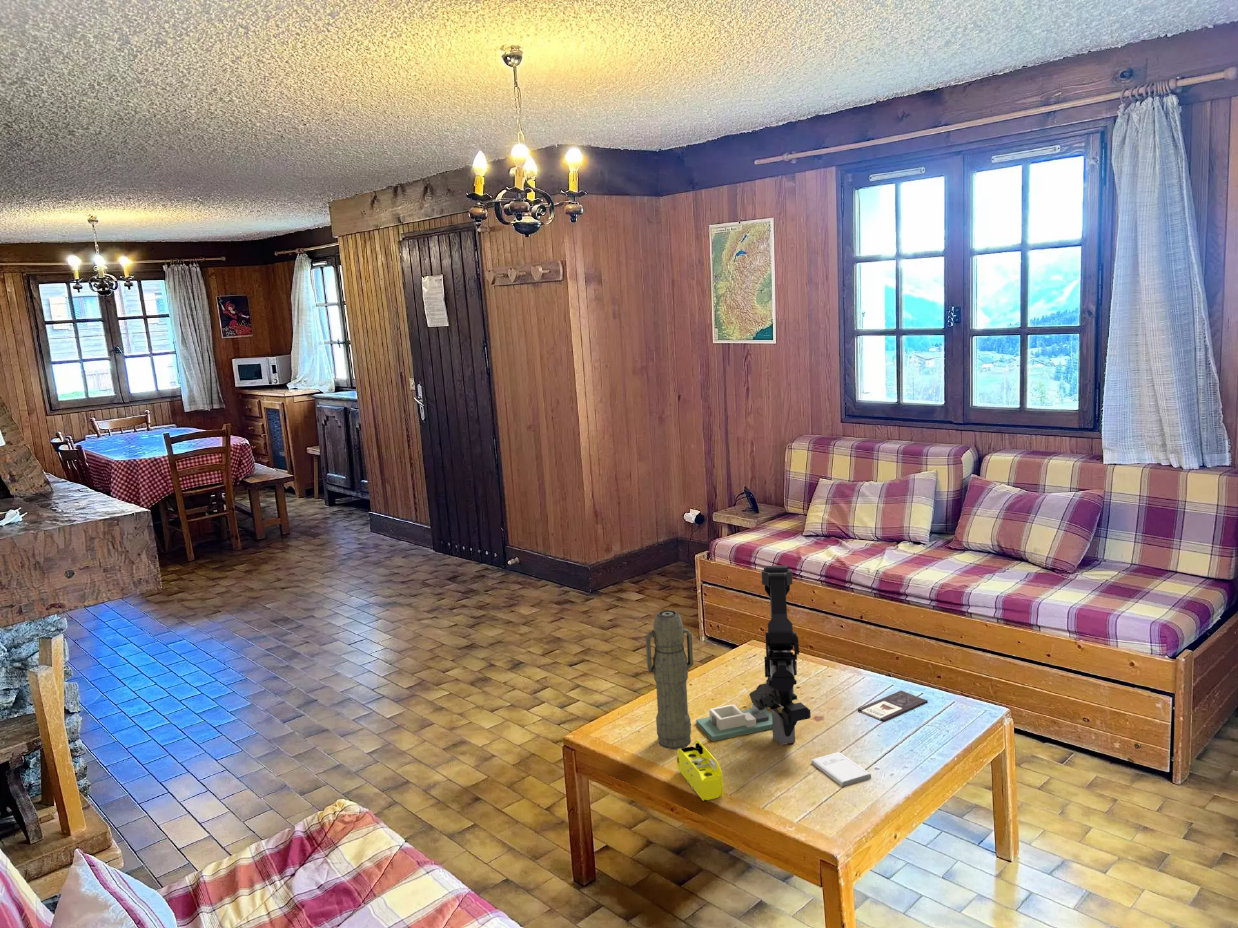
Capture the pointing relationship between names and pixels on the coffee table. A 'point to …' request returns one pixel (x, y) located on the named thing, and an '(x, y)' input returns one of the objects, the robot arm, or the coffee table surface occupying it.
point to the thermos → (671, 678)
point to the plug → (780, 728)
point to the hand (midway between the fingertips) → (783, 732)
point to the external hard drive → (841, 769)
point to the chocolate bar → (892, 705)
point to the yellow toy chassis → (701, 771)
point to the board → (734, 721)
